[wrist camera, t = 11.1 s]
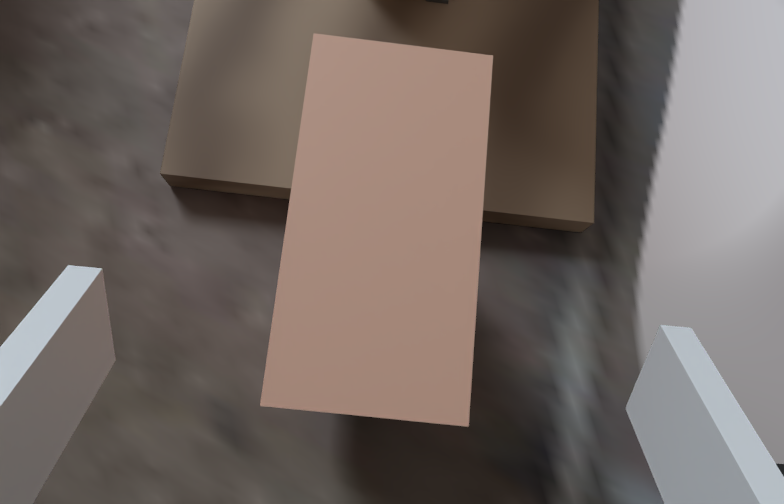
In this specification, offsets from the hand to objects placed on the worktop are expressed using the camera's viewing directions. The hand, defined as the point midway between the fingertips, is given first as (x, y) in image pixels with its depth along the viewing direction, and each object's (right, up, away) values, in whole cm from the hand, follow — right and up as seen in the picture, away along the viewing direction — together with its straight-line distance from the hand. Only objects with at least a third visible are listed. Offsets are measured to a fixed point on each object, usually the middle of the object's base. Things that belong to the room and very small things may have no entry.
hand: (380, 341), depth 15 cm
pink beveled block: (-1, 0, +9) cm, 9 cm away
